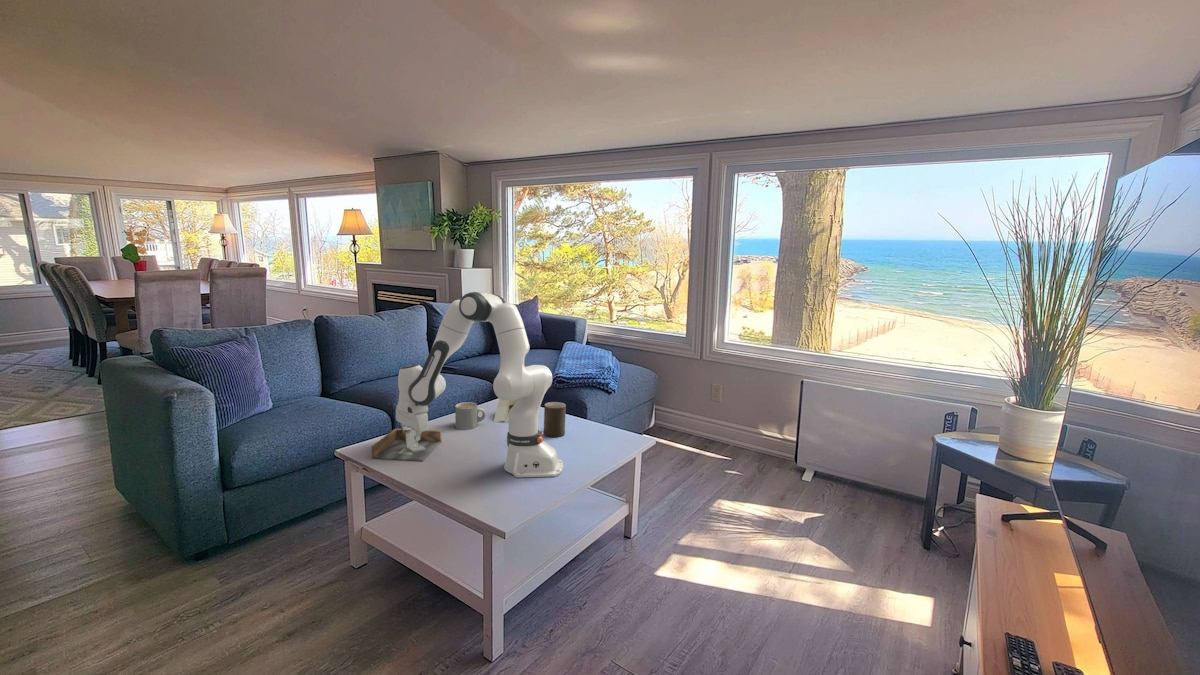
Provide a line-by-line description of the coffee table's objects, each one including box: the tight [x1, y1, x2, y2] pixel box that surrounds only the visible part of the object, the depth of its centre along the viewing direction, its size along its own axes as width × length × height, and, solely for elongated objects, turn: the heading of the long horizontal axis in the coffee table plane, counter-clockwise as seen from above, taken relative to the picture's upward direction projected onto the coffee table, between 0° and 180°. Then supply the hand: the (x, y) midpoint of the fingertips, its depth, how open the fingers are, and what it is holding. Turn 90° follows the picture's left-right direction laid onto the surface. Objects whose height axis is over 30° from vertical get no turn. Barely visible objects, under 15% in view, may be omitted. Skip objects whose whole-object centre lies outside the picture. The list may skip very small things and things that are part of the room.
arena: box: [371, 428, 443, 462], centre depth 203 cm, size 20×20×5 cm
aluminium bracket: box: [405, 430, 426, 454], centre depth 202 cm, size 7×5×7 cm
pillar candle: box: [542, 401, 567, 438], centre depth 226 cm, size 10×10×15 cm
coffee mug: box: [454, 401, 486, 431], centre depth 232 cm, size 13×10×10 cm
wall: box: [493, 398, 517, 423], centre depth 248 cm, size 16×9×15 cm
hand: (411, 436), depth 203 cm, fingers open, 8 cm apart
